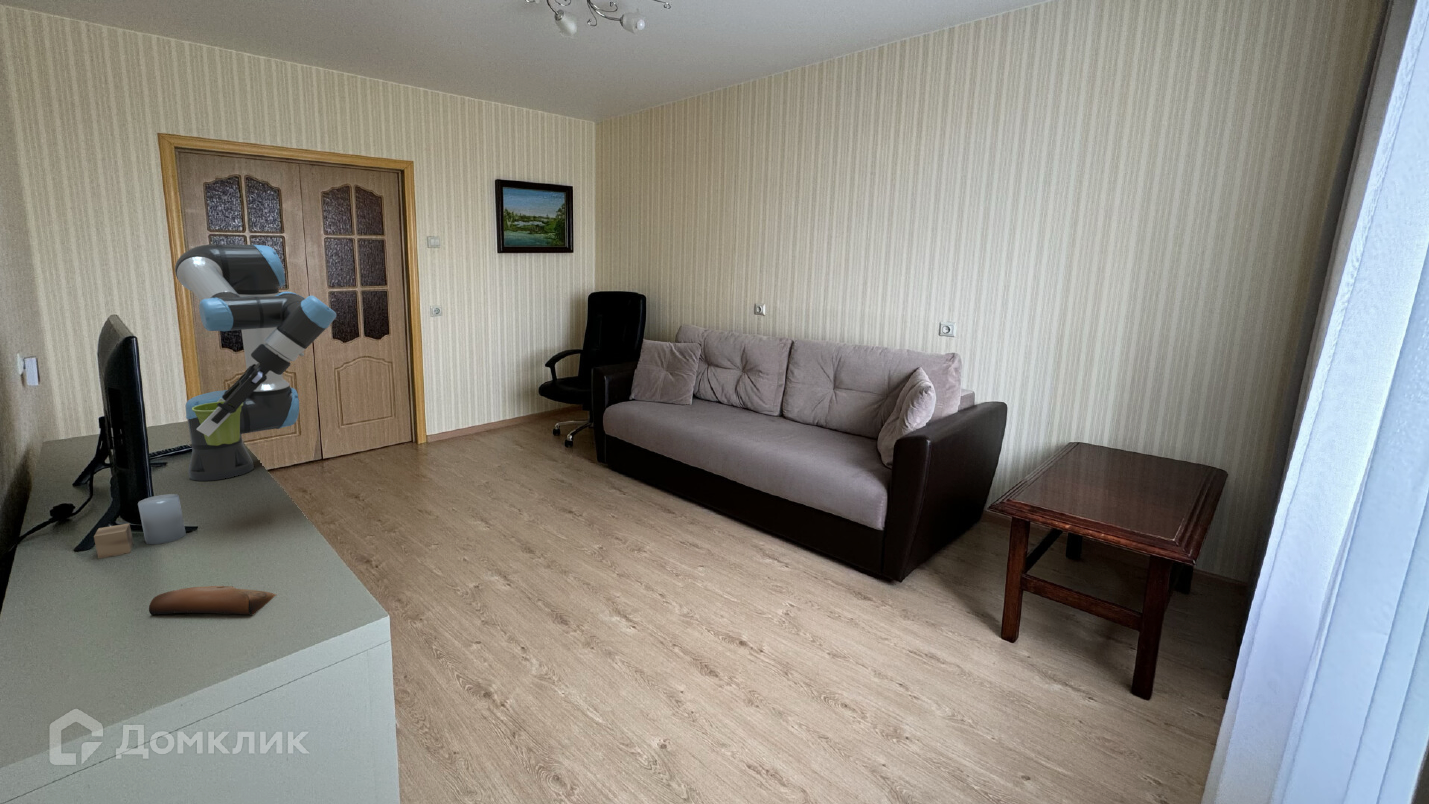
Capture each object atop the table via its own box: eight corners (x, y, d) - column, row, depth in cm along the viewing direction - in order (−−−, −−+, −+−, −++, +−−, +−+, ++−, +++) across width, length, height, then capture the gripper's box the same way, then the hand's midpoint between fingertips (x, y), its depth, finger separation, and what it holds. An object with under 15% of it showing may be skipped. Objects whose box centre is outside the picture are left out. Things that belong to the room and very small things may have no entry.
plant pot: (258, 437, 156) (253, 401, 154) (225, 448, 146) (219, 411, 144) (222, 436, 156) (216, 400, 155) (187, 447, 147) (180, 409, 145)
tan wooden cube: (103, 550, 142) (98, 528, 140) (133, 544, 144) (129, 523, 143) (98, 558, 137) (93, 536, 136) (129, 553, 140) (125, 531, 139)
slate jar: (147, 535, 149) (140, 498, 147) (186, 528, 152) (180, 492, 150) (143, 547, 143) (135, 508, 141) (184, 539, 147) (177, 501, 145)
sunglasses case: (281, 592, 124) (265, 573, 119) (263, 627, 119) (245, 608, 114) (185, 592, 124) (165, 573, 119) (163, 627, 119) (141, 608, 114)
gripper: (295, 369, 147) (218, 449, 142) (290, 356, 165) (221, 427, 160) (263, 348, 143) (183, 428, 138) (261, 337, 161) (190, 408, 156)
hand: (203, 427), depth 149 cm, fingers closed on plant pot, 9 cm apart
